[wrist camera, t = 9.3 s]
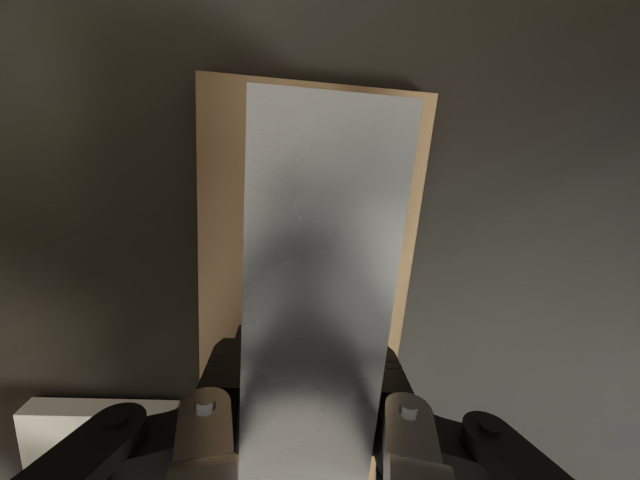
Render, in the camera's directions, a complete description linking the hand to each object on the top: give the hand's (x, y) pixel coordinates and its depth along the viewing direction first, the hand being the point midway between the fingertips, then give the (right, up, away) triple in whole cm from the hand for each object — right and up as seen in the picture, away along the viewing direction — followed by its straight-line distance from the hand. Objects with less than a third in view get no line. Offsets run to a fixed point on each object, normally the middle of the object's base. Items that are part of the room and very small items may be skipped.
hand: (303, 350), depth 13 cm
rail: (0, 0, -1) cm, 1 cm away
